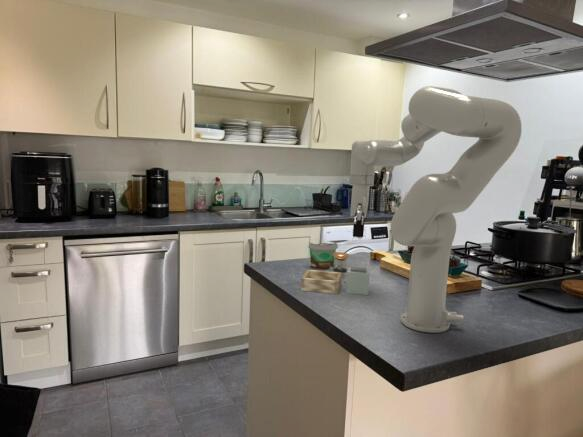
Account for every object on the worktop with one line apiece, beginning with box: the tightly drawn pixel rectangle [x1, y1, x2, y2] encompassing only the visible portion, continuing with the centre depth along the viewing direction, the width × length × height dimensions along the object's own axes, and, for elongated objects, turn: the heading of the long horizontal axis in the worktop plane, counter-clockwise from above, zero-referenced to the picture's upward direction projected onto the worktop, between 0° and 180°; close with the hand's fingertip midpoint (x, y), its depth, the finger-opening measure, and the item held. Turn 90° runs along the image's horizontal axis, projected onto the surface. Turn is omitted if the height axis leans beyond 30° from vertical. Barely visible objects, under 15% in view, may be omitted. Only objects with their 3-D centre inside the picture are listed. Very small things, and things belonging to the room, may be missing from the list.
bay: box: [300, 269, 342, 295], centre depth 139 cm, size 12×11×4 cm
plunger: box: [333, 251, 350, 273], centre depth 149 cm, size 6×6×6 cm
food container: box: [307, 241, 339, 271], centre depth 163 cm, size 12×6×10 cm, turn 111°
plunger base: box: [327, 266, 349, 283], centre depth 150 cm, size 8×8×3 cm
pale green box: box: [345, 266, 370, 296], centre depth 136 cm, size 5×7×8 cm
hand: (358, 233), depth 134 cm, fingers open, 9 cm apart
